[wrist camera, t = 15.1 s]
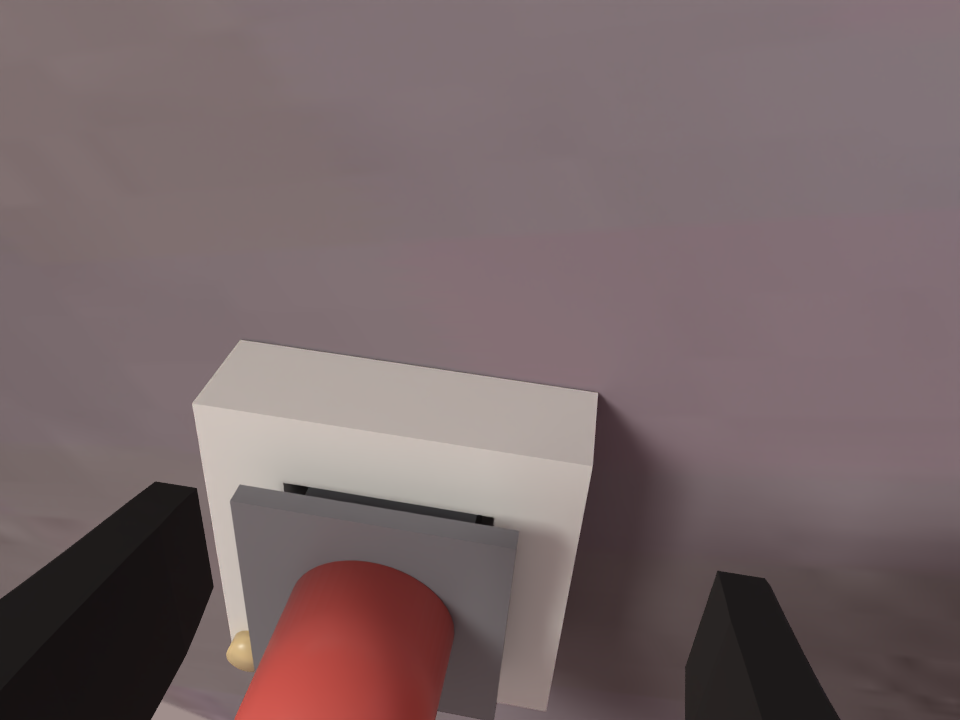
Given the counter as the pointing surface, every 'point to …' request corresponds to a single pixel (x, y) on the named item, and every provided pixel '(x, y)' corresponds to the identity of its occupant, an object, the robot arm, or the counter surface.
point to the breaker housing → (409, 469)
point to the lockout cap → (354, 649)
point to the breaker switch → (390, 542)
